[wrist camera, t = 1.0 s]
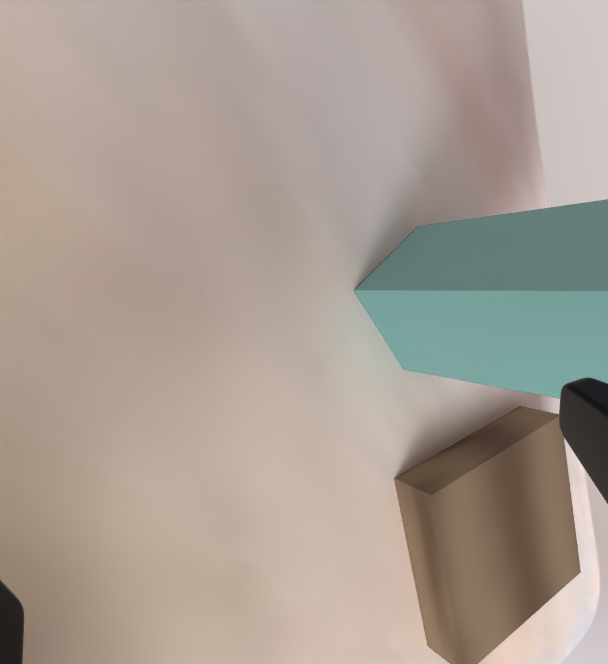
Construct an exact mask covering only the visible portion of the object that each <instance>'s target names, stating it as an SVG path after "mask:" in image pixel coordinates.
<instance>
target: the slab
mask: <svg viewBox="0 0 608 664" xmlns="http://www.w3.org/2000/svg"><path fill="white" fill-rule="evenodd" d="M394 481H395V486H396V491H397V496H398V501H399V506H400V511H401V516H402V521H403V526H404V531H405V536H406V541H407V546H408V551H409V556H410V561H411V566H412V571H413V576H414V581H415V586H416V590H417V595H418V600H419V605H420V610H421V615H422V620H423V625H424V630H425V635H426V640H427V645H428V647H430V648H431V649H432V650H433V651H435V652H436V653H437V654H439V655H440V656H441V657H442V658H444V659H445V660H446V661H447V662H449V663H450V664H478V663H479V662H480V661H481V660H483V659H484V658H485V657H486V656H487V655H488V654H489V653H490V652H492V651H493V650H494V649H495V648H496V647H497V646H498V645H499V644H501V643H502V642H503V641H504V640H505V639H506V638H507V637H508V636H510V635H511V634H512V633H513V632H514V631H515V630H516V629H517V628H519V627H520V626H521V625H522V624H523V623H524V622H525V621H526V620H527V619H529V618H530V617H531V616H532V615H533V614H534V613H535V612H536V611H538V610H539V609H540V608H541V607H542V606H543V605H544V604H545V603H547V602H548V601H549V600H550V599H551V598H552V597H553V596H554V595H556V594H557V593H558V592H559V591H560V590H561V589H562V588H563V587H565V586H566V585H567V584H568V583H569V582H570V581H571V580H572V579H574V578H575V577H576V576H577V575H578V574H579V573H580V572H581V571H580V563H579V555H578V547H577V539H576V531H575V523H574V515H573V507H572V499H571V491H570V483H569V475H568V467H567V459H566V451H565V443H564V436H563V434H562V432H561V429H560V426H559V414H554V413H550V412H545V411H540V410H536V409H531V408H526V407H521V406H520V407H518V408H516V409H514V410H513V411H511V412H509V413H507V414H506V415H504V416H502V417H500V418H499V419H497V420H495V421H494V422H492V423H490V424H488V425H487V426H485V427H483V428H481V429H480V430H478V431H476V432H474V433H473V434H471V435H469V436H467V437H466V438H464V439H462V440H460V441H459V442H457V443H455V444H453V445H452V446H450V447H448V448H447V449H445V450H443V451H441V452H440V453H438V454H436V455H434V456H433V457H431V458H429V459H427V460H426V461H424V462H422V463H420V464H419V465H417V466H415V467H413V468H412V469H410V470H408V471H406V472H405V473H403V474H401V475H399V476H398V477H396V478H394Z"/></svg>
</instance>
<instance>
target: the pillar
mask: <svg viewBox="0 0 608 664" xmlns="http://www.w3.org/2000/svg"><path fill="white" fill-rule="evenodd" d="M354 292H355V293H356V295H357V296H358V298H359V299H360V301H361V303H362V304H363V306H364V307H365V309H366V311H367V312H368V314H369V315H370V317H371V318H372V320H373V322H374V323H375V325H376V326H377V328H378V329H379V331H380V333H381V334H382V336H383V337H384V339H385V340H386V342H387V344H388V345H389V347H390V348H391V350H392V352H393V353H394V355H395V356H396V358H397V359H398V361H399V363H400V364H401V366H402V367H403V369H404V370H409V371H414V372H419V373H425V374H430V375H435V376H441V377H446V378H452V379H457V380H462V381H468V382H473V383H478V384H484V385H489V386H495V387H500V388H505V389H511V390H516V391H521V392H527V393H532V394H538V395H543V396H548V397H554V398H559V399H560V395H561V389H562V387H563V385H565V384H566V383H569V382H572V381H575V380H578V379H581V378H586V377H589V378H594V379H597V380H600V381H602V382H605V383H608V200H601V201H594V202H587V203H580V204H573V205H566V206H558V207H551V208H544V209H537V210H530V211H523V212H516V213H509V214H502V215H495V216H488V217H481V218H474V219H467V220H460V221H453V222H446V223H439V224H432V225H425V226H418V227H417V228H416V229H415V230H414V231H413V232H412V233H411V234H410V235H409V236H408V237H407V238H406V239H405V240H404V241H403V242H402V243H401V244H400V245H399V246H398V247H397V248H396V249H395V250H394V251H393V252H392V253H391V254H390V255H389V256H388V257H387V258H386V259H385V260H384V261H383V262H382V263H381V264H380V265H379V266H378V267H377V268H376V269H375V270H374V271H373V272H372V273H371V274H370V275H369V276H368V277H367V278H366V279H365V280H364V281H363V282H362V283H361V284H360V285H359V286H358V287H357V288H356V289H355V290H354Z"/></svg>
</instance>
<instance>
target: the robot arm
mask: <svg viewBox="0 0 608 664" xmlns="http://www.w3.org/2000/svg"><path fill="white" fill-rule="evenodd" d="M559 426H560V429H561V432H562V434H563V436H564V438H565V439H566V441H567V442H568V444H569V445H570V447H571V448H572V450H573V452H574V453H575V455H576V456H577V458H578V459H579V461H580V462H581V464H582V465H583V467H584V468H585V470H586V471H587V473H588V474H589V476H590V477H591V479H592V481H593V482H594V484H595V485H596V487H597V488H598V490H599V491H600V493H601V494H602V496H603V497H604V499H605V500H606V502H607V503H608V383H605V382H602V381H600V380H597V379H594V378H589V377H586V378H581V379H578V380H575V381H572V382H569V383H566V384H565V385H563V387H562V389H561V395H560V411H559ZM23 637H24V611H23V607H22V605H21V602H20V601H19V599H18V598H17V597H16V596H15V595H14V594H13V593H12V592H11V591H10V590H9V589H8V588H7V586H6V585H5V584H4V583H3V582H2V581H1V580H0V664H22V661H23Z"/></svg>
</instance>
